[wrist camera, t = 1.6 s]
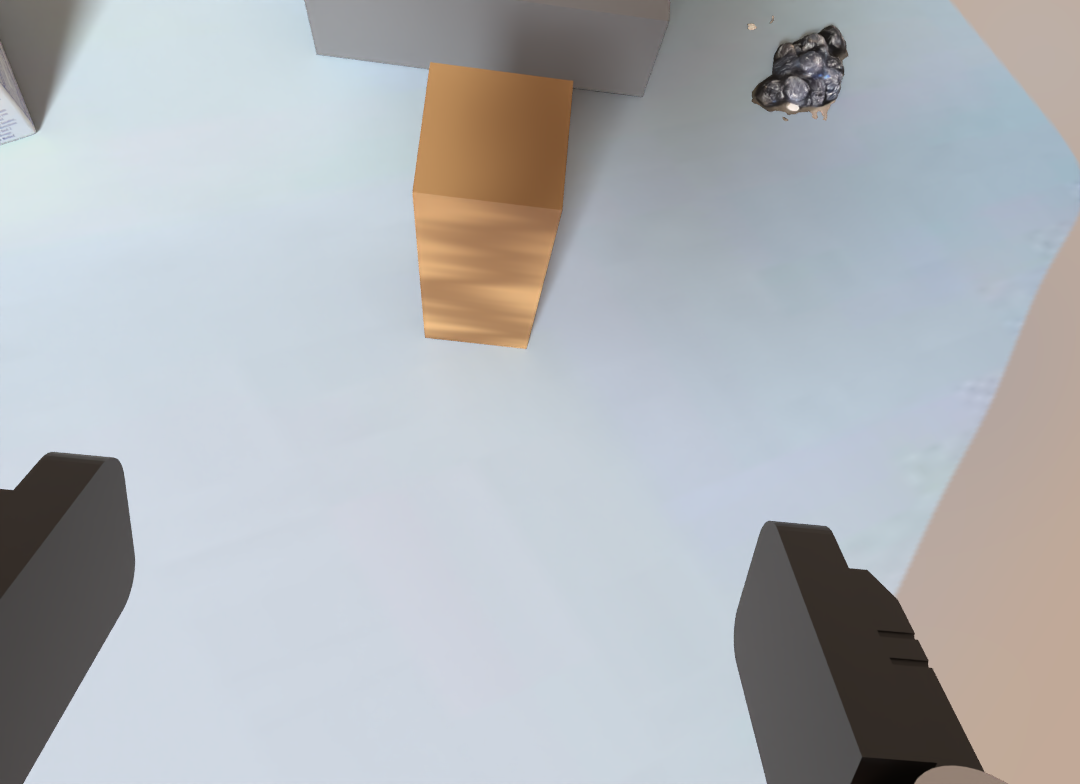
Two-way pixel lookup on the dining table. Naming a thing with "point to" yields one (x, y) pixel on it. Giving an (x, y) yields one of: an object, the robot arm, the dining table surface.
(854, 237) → the dining table surface
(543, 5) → the socket block
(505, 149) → the wooden peg
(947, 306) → the dining table surface
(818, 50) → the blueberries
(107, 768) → the dining table surface
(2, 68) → the medicine box
